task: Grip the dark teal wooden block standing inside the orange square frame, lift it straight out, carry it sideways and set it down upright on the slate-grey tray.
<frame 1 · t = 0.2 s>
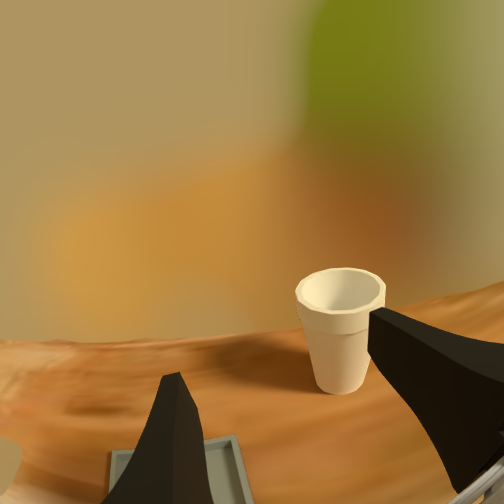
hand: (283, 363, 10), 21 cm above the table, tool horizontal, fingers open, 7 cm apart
slate tray: (181, 503, 21), on the table
foam cup: (339, 377, 35), on the table
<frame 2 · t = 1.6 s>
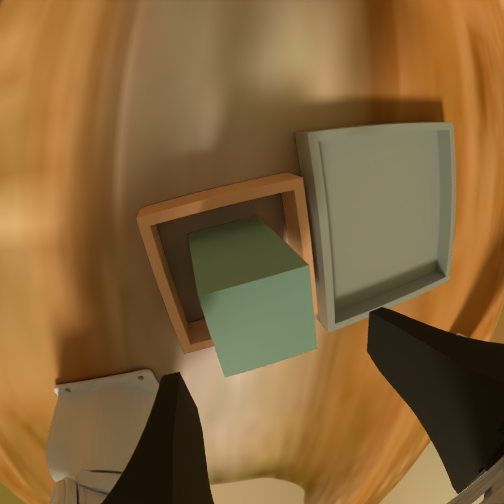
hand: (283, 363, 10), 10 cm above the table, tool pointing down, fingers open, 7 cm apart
slate tray: (384, 216, 22), on the table
teal block: (243, 284, 16), in the orange square frame
orange square frame: (230, 257, 20), on the table
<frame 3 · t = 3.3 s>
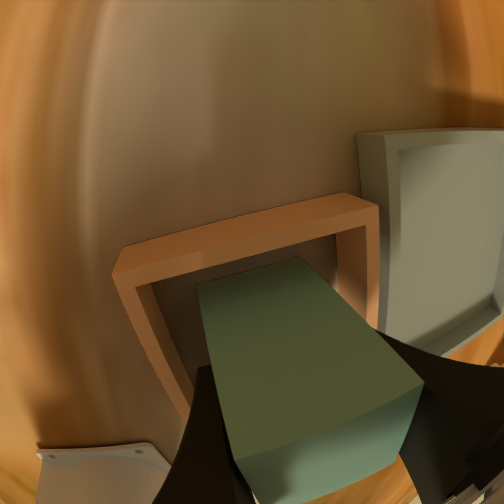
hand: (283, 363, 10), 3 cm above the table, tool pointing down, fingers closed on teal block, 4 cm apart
slate tray: (450, 247, 15), on the table
teal block: (288, 374, 10), in the orange square frame, touching gripper
orange square frame: (258, 315, 13), on the table
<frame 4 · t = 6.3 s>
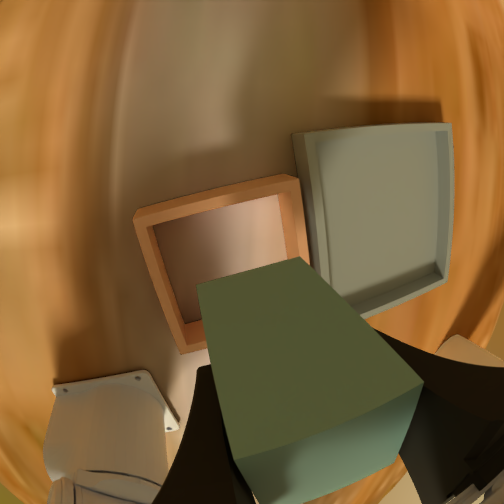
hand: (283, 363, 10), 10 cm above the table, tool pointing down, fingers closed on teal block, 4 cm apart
slate tray: (382, 217, 22), on the table
teal block: (288, 374, 10), point 11 cm above the table, touching gripper
orange square frame: (227, 258, 20), on the table
foam cup: (445, 354, 32), on the table
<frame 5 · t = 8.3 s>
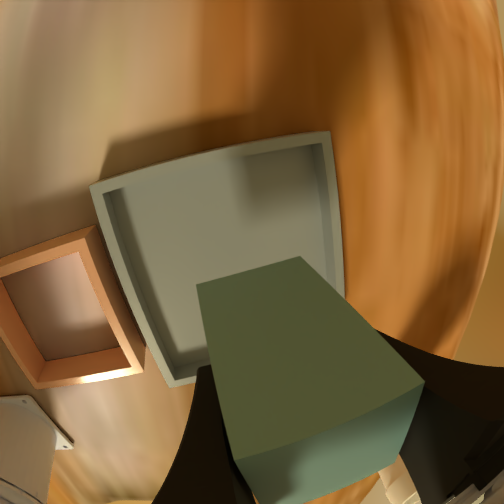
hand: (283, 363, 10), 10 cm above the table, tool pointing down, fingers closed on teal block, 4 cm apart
slate tray: (232, 262, 19), on the table
teal block: (288, 373, 10), point 10 cm above the table, touching gripper
orange square frame: (61, 308, 17), on the table
foam cup: (376, 398, 29), on the table
when the fingers open (5 cm above the table, at t = 9.6 s): teal block drops 1 cm, resting on slate tray.
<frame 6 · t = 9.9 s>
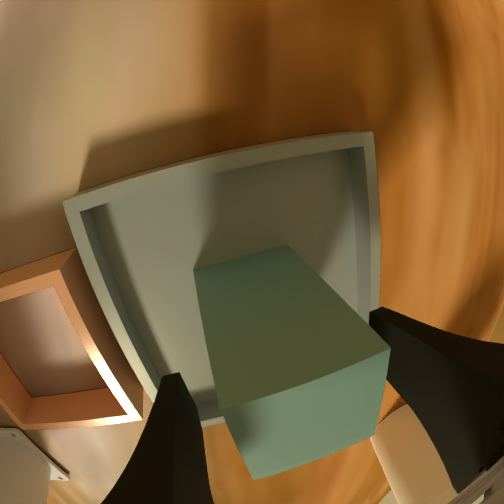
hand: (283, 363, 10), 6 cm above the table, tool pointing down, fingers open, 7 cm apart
slate tray: (248, 293, 15), on the table
teal block: (274, 349, 11), in the slate tray, point 5 cm above the table
orange square frame: (43, 343, 14), on the table
foam cup: (394, 422, 26), on the table
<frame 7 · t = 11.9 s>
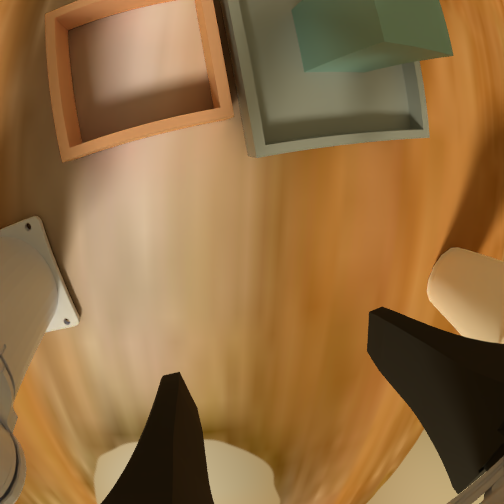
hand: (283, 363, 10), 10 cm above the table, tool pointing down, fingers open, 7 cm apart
slate tray: (326, 43, 16), on the table
teal block: (363, 24, 12), in the slate tray, point 5 cm above the table
orange square frame: (135, 64, 14), on the table
foam cup: (446, 275, 26), on the table
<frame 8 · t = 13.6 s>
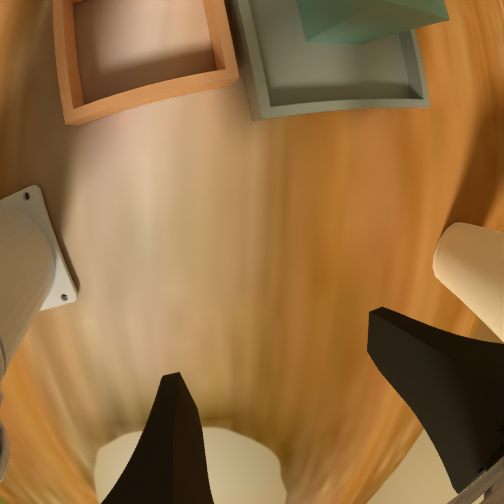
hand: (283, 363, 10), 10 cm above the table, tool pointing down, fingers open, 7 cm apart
slate tray: (326, 16, 15), on the table
orange square frame: (140, 34, 13), on the table
foam cup: (451, 251, 26), on the table
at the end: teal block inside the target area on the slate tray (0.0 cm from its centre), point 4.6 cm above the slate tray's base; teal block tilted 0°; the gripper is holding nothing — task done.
